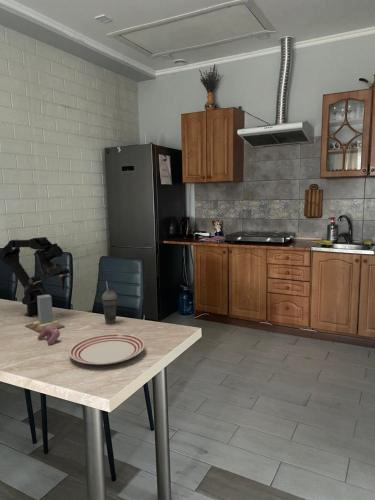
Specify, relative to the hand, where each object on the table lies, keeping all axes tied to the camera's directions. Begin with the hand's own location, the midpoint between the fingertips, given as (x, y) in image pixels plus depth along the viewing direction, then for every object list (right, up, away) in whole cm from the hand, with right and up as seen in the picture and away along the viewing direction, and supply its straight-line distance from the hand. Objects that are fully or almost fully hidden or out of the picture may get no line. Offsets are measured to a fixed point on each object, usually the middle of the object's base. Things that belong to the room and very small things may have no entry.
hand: (54, 292), depth 183 cm
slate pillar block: (0, -12, -12) cm, 17 cm away
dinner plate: (+35, -18, -43) cm, 58 cm away
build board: (-1, -14, -11) cm, 18 cm away
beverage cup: (+29, -14, -6) cm, 32 cm away
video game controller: (+8, -17, -28) cm, 34 cm away
